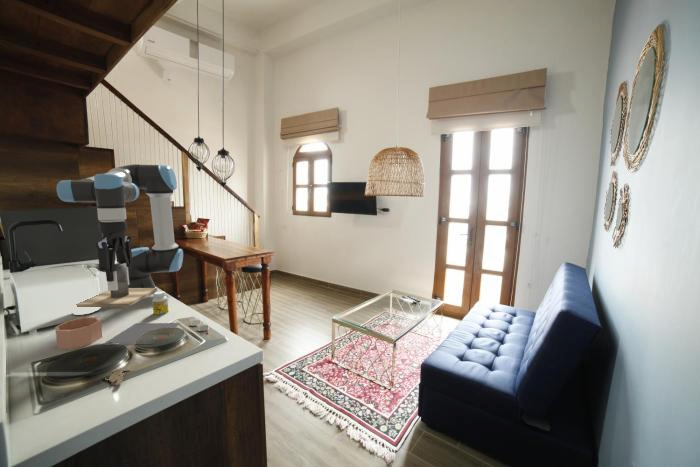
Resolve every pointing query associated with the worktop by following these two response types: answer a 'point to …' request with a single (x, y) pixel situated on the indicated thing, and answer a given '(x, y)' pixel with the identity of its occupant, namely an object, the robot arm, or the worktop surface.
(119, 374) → the jawbone
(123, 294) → the oak lid
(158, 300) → the supplement bottle
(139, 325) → the rubber mat
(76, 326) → the terracotta bowl
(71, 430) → the worktop surface
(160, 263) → the robot arm
